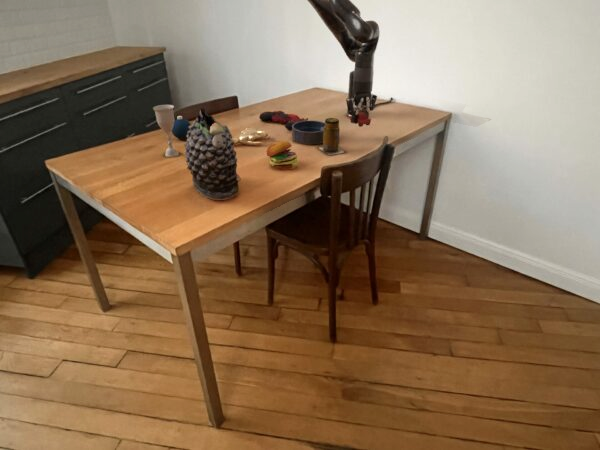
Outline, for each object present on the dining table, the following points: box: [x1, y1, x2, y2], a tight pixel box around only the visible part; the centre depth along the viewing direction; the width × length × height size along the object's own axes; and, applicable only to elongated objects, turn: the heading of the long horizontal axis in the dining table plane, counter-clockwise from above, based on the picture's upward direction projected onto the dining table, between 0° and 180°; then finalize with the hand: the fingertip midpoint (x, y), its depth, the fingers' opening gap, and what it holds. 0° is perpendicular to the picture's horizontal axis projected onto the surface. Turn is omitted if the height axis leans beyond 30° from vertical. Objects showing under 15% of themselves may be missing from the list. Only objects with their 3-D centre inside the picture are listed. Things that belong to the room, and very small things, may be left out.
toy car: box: [349, 111, 372, 128], centre depth 165 cm, size 8×4×4 cm, turn 30°
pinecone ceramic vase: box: [183, 107, 242, 201], centre depth 123 cm, size 21×15×25 cm
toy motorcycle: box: [259, 110, 309, 131], centre depth 186 cm, size 25×5×16 cm
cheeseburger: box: [266, 140, 298, 170], centre depth 144 cm, size 10×11×10 cm
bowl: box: [291, 120, 325, 145], centre depth 168 cm, size 15×15×6 cm
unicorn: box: [232, 127, 271, 146], centre depth 167 cm, size 20×4×17 cm
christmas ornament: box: [171, 115, 192, 140], centre depth 167 cm, size 8×8×10 cm
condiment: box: [318, 117, 345, 156], centre depth 155 cm, size 7×8×12 cm
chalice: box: [152, 104, 180, 158], centre depth 150 cm, size 7×7×18 cm
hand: (360, 122), depth 165 cm, fingers closed on toy car, 4 cm apart
